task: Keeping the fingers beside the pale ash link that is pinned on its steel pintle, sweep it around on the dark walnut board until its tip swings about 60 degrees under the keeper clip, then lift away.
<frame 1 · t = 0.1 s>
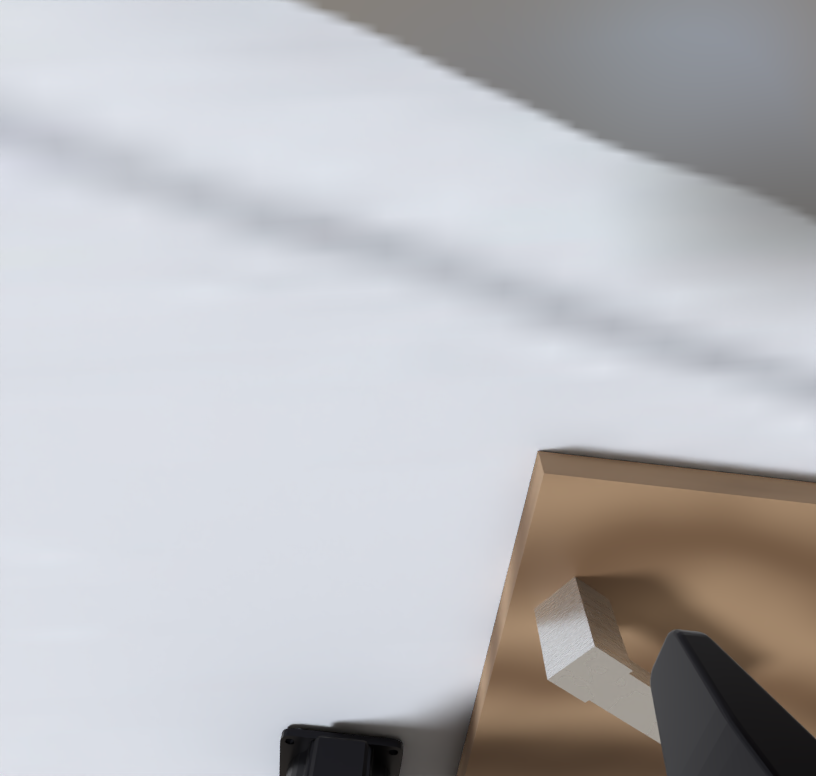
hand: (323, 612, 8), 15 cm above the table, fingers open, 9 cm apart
keeper: (623, 617, 28), resting on board
board: (726, 669, 29), on the table
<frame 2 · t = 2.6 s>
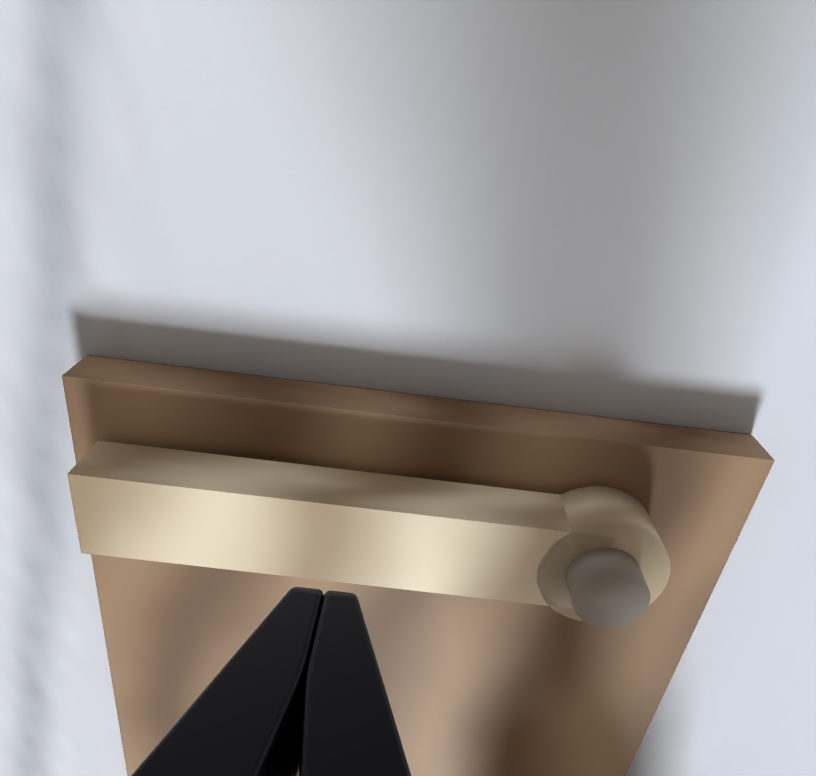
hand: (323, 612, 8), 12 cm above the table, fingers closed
board: (388, 638, 25), on the table
link: (375, 540, 19), point 3 cm above the table, hinge at 0.0°
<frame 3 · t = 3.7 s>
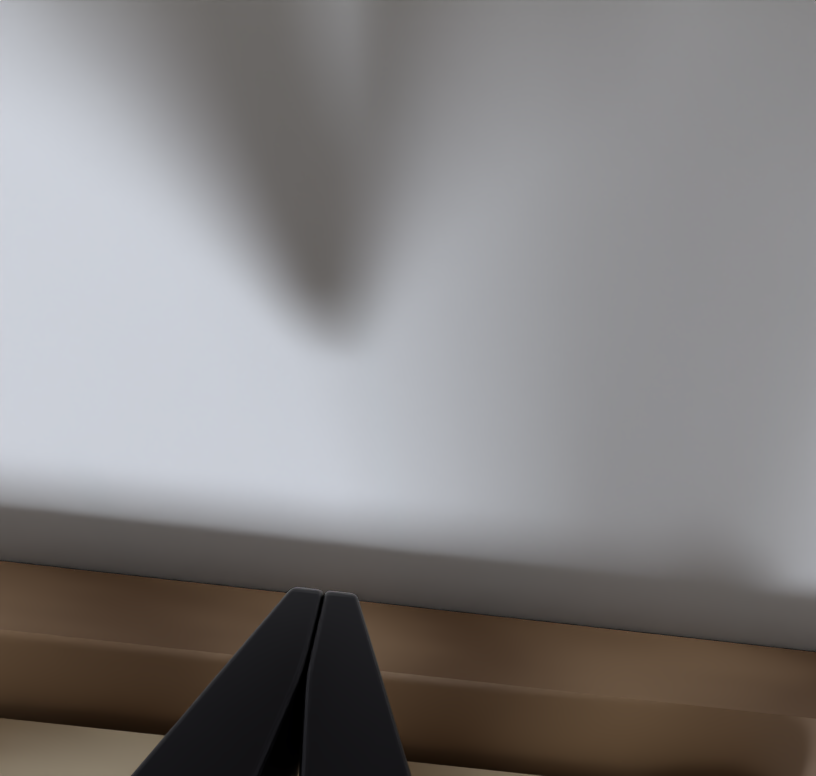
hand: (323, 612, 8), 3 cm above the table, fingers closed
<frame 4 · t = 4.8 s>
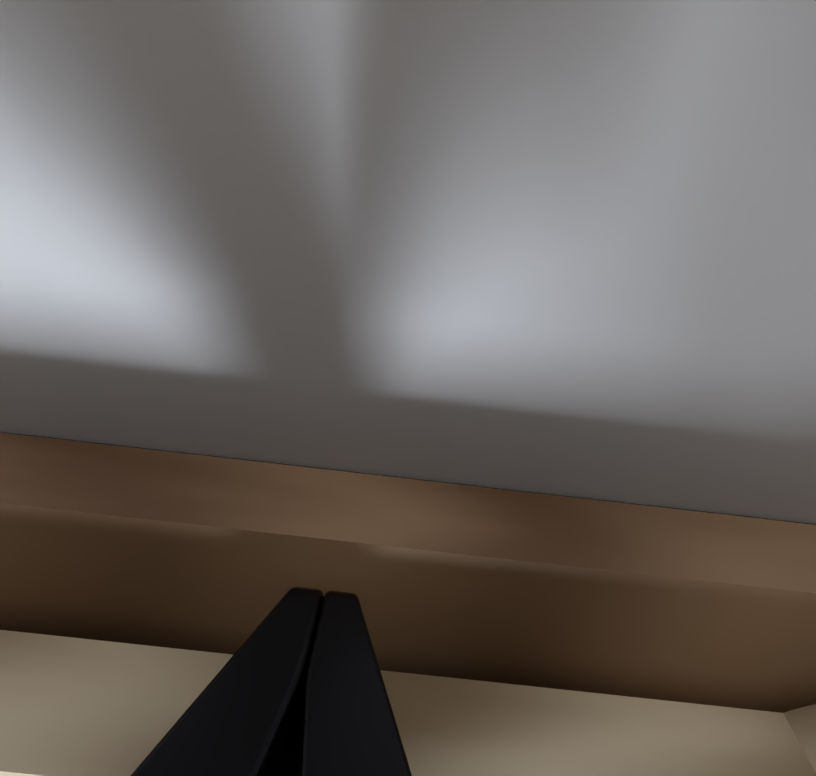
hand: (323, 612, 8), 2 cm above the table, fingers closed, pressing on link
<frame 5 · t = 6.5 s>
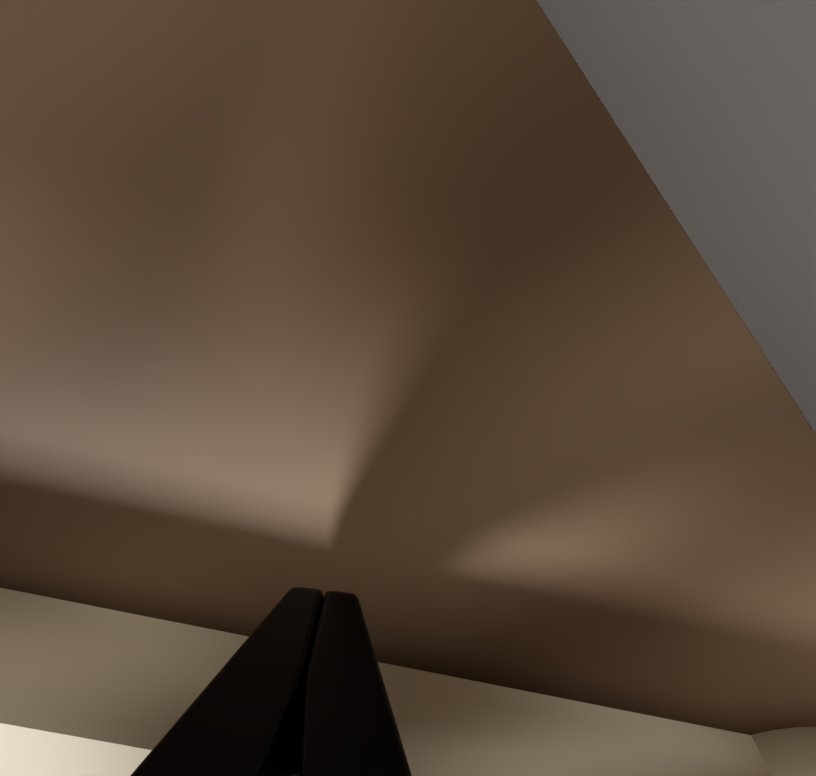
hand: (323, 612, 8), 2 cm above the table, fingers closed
board: (217, 717, 12), on the table
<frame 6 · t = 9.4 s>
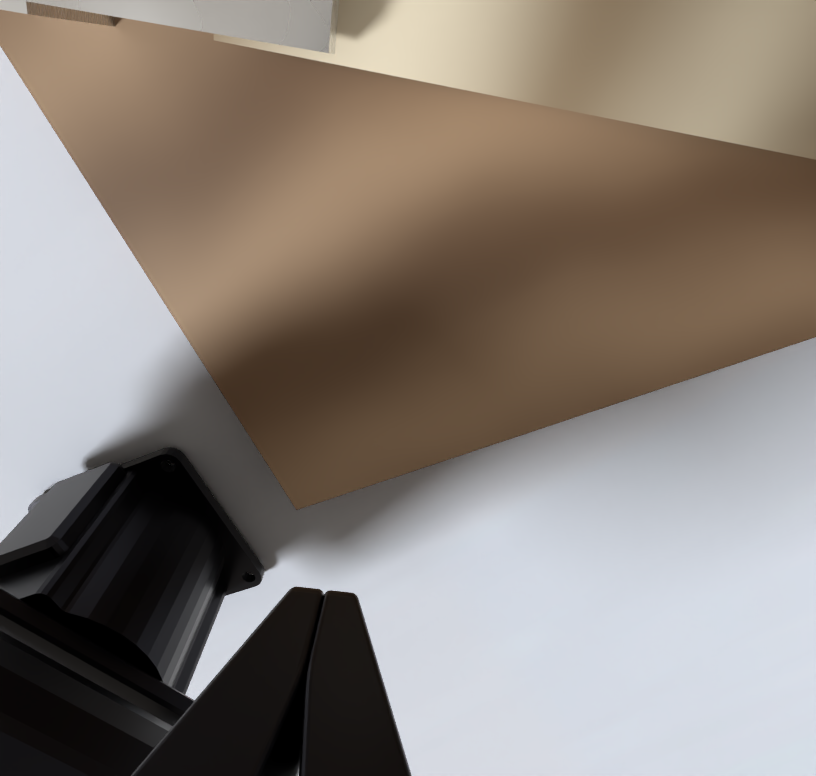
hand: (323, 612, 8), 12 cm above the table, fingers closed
link: (663, 45, 12), point 3 cm above the table, hinge at 56.6°
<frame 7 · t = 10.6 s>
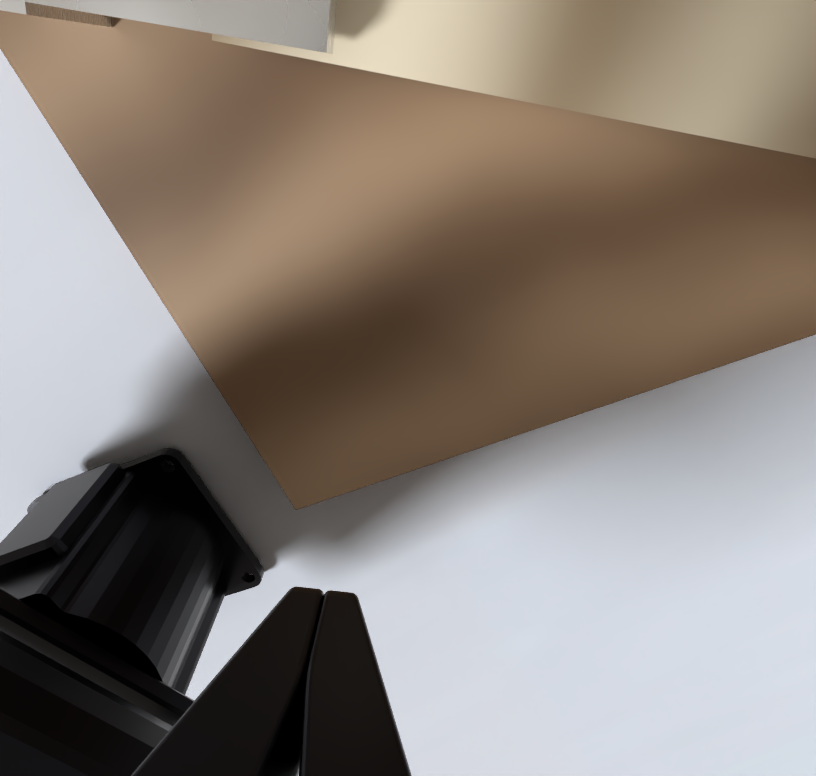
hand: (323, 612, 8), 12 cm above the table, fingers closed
link: (660, 44, 12), point 3 cm above the table, hinge at 56.6°
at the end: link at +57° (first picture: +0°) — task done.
